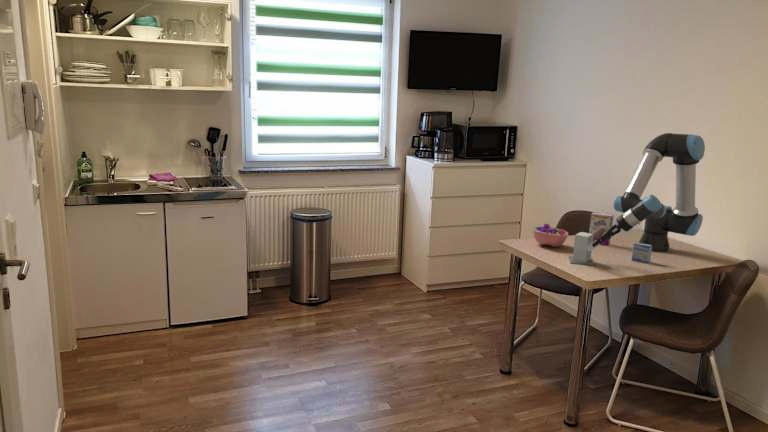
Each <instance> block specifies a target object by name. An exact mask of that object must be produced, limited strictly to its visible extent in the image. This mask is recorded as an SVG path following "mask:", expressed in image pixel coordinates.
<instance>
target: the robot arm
mask: <svg viewBox="0 0 768 432" xmlns="http://www.w3.org/2000/svg"><path fill="white" fill-rule="evenodd" d="M705 149H706V145H705V141H704V138H703V137H702V136H700V135H696V134H692V133H690V134H687V133H685V134H684V133H672V132H667V133H666V132H665V133H663V134H660V135H658V136H656V137H655V138H653V139H652V140H651V141H649V143H647V145H646V146H645V147H644V149H643V151H642V158H641V160H640V162H639V164H638V166H637V168H636V170H635V171H634V174H633V176H632V177H631V179H630V181H629V184H628V185H627V187H626V189H625V192H624V193H623V195H618V196H616V197H615V198H614V201H613V208H614V210H615V211H616V212H619V213H622V214H621V215H620V216H618V217H617V218H616V224H613V225H612V228H611V229H609V230H608V232H607V233H605V234H603V235H602V236H601V237H599V238H596V240H595V241H594V242H592V243H591V244H589V245H588V246H587V247H586V248H587V250H588V251H589V252H590V251H591V250H592V251H593V250H595V249H596V248H597V247H598V246H600V245H601V243H602V242H604V241H605V240H607V239H608V238H609V239H610V238H611V239H612V237H614V236H616V235H618V234H619V233H620V232H622V230H623V231H624V232H629V231H631V230H632V229H633V228H634V227H635V226H637V225H638V226H640V225H641V223H642V222H643V221H644V220H645V222H644V229H643V234H642V236H641V237H640V239H639V241H638V243H643V244H648V245H653V246H652V252H659V253H660V252H661V253H662V252H664V253H665V252H669V251H670V242H669V236H668V235H669V233H674V234H679V235H685V236H690V237H694V236H696V235H697V234H698V233H699V230H700V229H701V226H702V225H703V221H704V220H703V219H704V216H703V215H702V214H701V213H699V208H698V207H696V180H697V178H696V177H697V176H696V175H697V174H696V173H697V172H696V170H697V165H698V164H699V163H700V160H702V159H703V158H704V155H705ZM664 158H671V159H672V163H673V164H674V166H675V206H674V207H673V208H672V206H669V205H665V204H663V203H662V202H661V201H660V199H659V198H658V197H657V196H655V195H654V194H649V195H648V196H645V197H644V198H643V199H641V197H642V196H643V194H644V191H645V189H646V187H647V185H648V183H649V181H650V180H651V177H652V176H653V175H654V172H655V170H656V168H657V166H658V164H659V163H660V162H662V161H663V159H664ZM611 239H610V240H611Z"/></svg>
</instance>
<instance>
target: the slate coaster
mask: <svg viewBox="0 0 768 432" xmlns="http://www.w3.org/2000/svg"><path fill="white" fill-rule="evenodd" d="M568 259H569V260H568V261H569V263H570V264H571V265H573V264H574V265H583V266H592V267H595V266H596V264H595V262H594V259H593V258H592V257H591V260H589V261H587V262H586V263H583V262H578V261H573V255H568Z"/></svg>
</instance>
